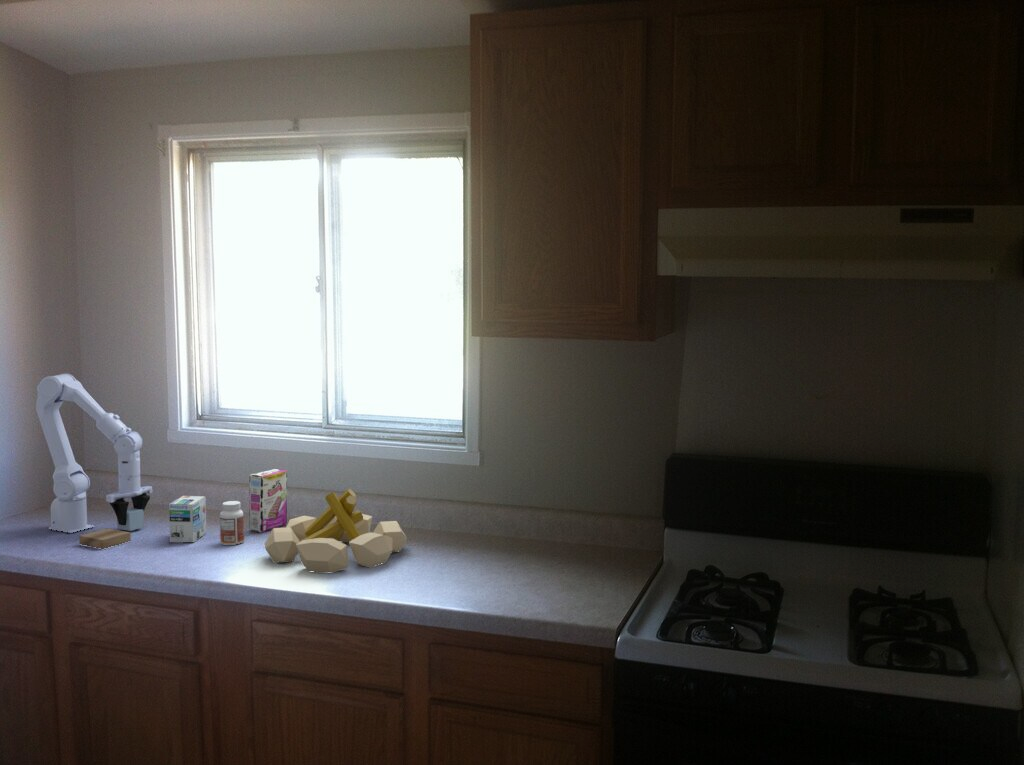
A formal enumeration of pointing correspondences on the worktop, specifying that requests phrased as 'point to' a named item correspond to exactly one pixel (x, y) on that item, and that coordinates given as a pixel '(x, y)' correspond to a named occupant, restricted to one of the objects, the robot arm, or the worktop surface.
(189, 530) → the light bulb box
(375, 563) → the campfire
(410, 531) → the worktop surface
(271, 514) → the candy bar box
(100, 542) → the walnut slab
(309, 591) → the worktop surface
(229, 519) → the pill bottle
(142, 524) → the slate cube
